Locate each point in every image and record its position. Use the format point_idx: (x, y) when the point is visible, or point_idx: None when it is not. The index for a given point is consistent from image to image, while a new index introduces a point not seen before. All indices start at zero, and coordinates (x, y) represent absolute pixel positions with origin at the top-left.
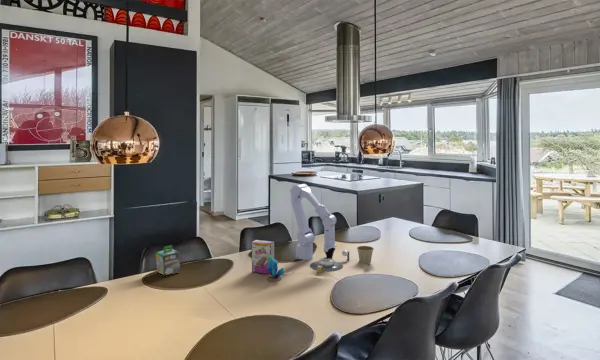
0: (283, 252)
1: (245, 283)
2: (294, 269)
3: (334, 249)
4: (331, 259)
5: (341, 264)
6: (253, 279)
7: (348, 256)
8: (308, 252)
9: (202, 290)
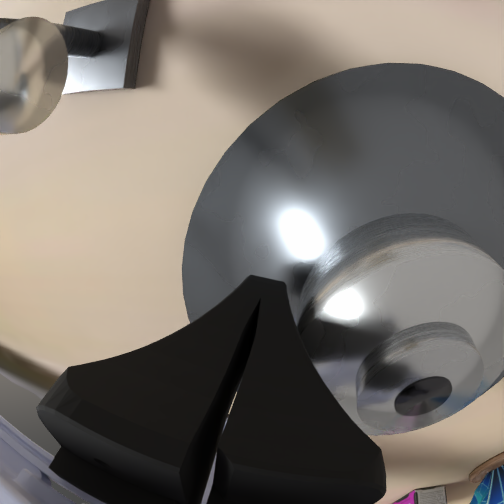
0: None
1: (490, 485)
2: (403, 460)
3: (186, 447)
4: (391, 309)
5: (334, 87)
6: (469, 489)
7: (57, 28)
8: (208, 493)
9: (487, 501)
